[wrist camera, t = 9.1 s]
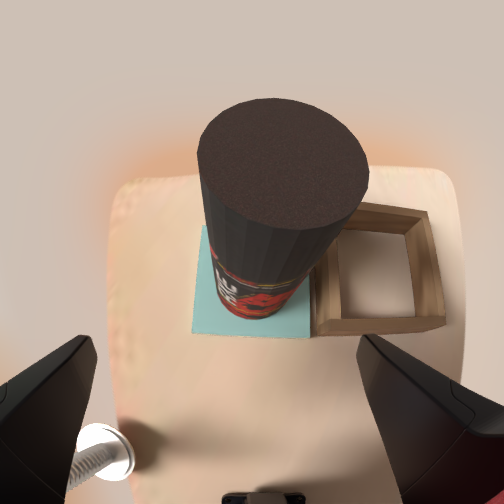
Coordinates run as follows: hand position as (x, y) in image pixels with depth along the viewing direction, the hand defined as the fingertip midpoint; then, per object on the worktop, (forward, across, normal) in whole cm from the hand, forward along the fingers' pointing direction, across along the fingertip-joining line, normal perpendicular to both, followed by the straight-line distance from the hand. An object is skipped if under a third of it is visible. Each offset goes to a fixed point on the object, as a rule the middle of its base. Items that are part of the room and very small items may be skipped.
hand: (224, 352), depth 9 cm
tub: (+14, -13, +5) cm, 20 cm away
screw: (+4, +10, +15) cm, 19 cm away
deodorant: (+14, -2, +5) cm, 15 cm away
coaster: (+14, -2, +5) cm, 15 cm away
